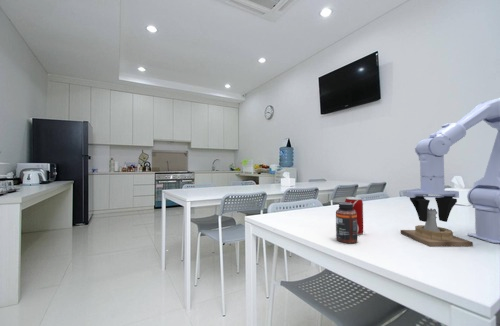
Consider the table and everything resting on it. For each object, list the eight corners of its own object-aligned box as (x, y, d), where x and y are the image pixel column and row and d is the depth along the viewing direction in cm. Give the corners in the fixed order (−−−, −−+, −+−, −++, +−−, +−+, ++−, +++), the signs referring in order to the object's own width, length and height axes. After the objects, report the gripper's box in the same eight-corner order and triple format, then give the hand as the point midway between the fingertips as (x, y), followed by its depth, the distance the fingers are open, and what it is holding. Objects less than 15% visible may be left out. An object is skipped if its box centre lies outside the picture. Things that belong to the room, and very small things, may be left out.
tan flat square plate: (436, 233, 74) (436, 223, 74) (472, 246, 62) (472, 234, 62) (400, 233, 74) (400, 223, 74) (429, 246, 62) (429, 234, 62)
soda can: (342, 232, 75) (341, 197, 76) (350, 229, 79) (349, 195, 79) (358, 236, 71) (357, 198, 71) (366, 233, 74) (365, 197, 75)
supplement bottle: (357, 239, 68) (356, 202, 69) (357, 245, 63) (357, 205, 63) (336, 236, 71) (336, 201, 71) (335, 242, 66) (335, 204, 66)
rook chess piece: (444, 237, 66) (443, 210, 66) (427, 236, 67) (426, 210, 67) (435, 233, 70) (434, 208, 70) (419, 232, 71) (418, 207, 71)
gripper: (444, 176, 72) (445, 218, 72) (399, 176, 72) (400, 218, 72) (465, 177, 65) (466, 223, 65) (415, 177, 65) (416, 223, 65)
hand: (433, 221), depth 68 cm, fingers open, 6 cm apart
